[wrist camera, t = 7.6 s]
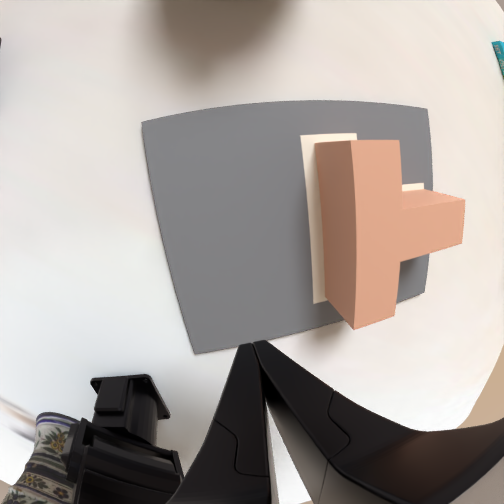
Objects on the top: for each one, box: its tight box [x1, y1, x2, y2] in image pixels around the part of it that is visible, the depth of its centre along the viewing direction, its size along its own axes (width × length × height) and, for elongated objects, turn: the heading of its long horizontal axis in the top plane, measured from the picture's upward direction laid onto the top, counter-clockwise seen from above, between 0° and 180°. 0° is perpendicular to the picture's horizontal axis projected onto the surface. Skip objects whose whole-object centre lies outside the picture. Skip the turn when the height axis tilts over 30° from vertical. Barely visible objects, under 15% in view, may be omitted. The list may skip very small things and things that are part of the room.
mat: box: [141, 100, 433, 354], centre depth 20 cm, size 18×23×1 cm
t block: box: [315, 140, 465, 330], centre depth 18 cm, size 12×10×5 cm
